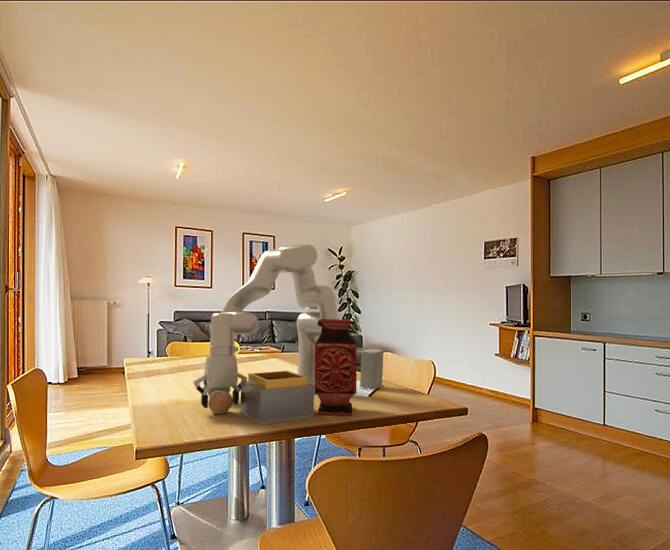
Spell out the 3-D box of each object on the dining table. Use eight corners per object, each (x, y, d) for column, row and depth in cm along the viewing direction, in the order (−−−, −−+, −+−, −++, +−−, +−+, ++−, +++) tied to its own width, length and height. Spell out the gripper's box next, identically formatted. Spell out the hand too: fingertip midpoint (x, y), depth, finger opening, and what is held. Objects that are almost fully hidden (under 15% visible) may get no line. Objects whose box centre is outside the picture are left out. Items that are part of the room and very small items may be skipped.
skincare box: (369, 385, 194) (370, 348, 195) (384, 387, 190) (384, 349, 190) (358, 388, 187) (359, 350, 188) (373, 390, 183) (374, 351, 184)
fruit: (202, 414, 141) (203, 388, 142) (216, 409, 148) (217, 384, 149) (223, 417, 139) (224, 391, 139) (236, 411, 145) (237, 386, 146)
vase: (316, 405, 156) (318, 318, 157) (355, 406, 156) (357, 319, 157) (312, 416, 142) (315, 320, 144) (356, 417, 142) (358, 321, 143)
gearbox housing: (290, 405, 154) (291, 369, 155) (313, 416, 141) (314, 377, 142) (240, 412, 145) (241, 373, 145) (259, 424, 131) (261, 381, 132)
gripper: (243, 349, 152) (241, 400, 151) (191, 351, 143) (189, 406, 142) (251, 351, 146) (250, 405, 145) (198, 354, 137) (196, 411, 136)
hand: (220, 405), depth 143 cm, fingers open, 9 cm apart
